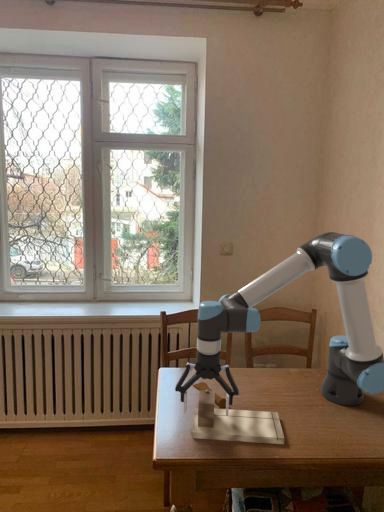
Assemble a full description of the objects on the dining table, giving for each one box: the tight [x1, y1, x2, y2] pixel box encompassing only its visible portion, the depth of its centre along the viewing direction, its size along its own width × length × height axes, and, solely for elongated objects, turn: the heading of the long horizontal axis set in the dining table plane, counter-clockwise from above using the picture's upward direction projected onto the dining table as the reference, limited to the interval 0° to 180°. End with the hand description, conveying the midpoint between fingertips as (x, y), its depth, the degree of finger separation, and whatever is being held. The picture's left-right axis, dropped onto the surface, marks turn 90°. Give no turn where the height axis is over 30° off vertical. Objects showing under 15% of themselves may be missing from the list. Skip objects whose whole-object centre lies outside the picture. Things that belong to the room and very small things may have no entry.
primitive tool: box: [191, 381, 226, 409], centre depth 144 cm, size 19×6×4 cm, turn 31°
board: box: [191, 406, 285, 445], centre depth 124 cm, size 28×14×2 cm, turn 86°
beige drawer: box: [197, 390, 216, 428], centre depth 124 cm, size 5×8×9 cm, turn 176°
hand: (205, 412), depth 124 cm, fingers open, 13 cm apart
